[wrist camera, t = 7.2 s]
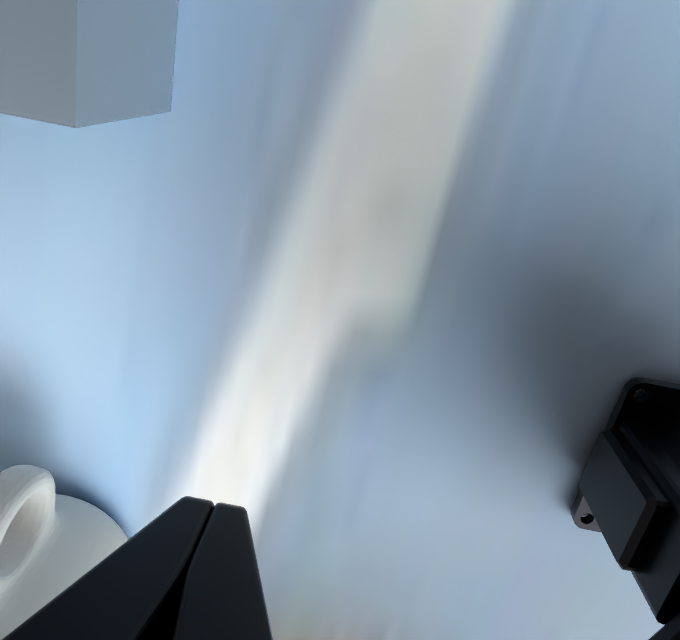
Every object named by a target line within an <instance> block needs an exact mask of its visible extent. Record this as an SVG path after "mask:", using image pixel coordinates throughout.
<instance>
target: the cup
mask: <svg viewBox="0 0 680 640" xmlns="http://www.w3.org/2000/svg"><path fill="white" fill-rule="evenodd" d="M127 540H128V538H127V536H126V535H125V533H124V532H123V530H122V529H121V528H120V526H119V525H118V524H117V523H116V522H115V521H114V520H113V519H112V518H111V517H110V516H108V515H107V514H106V513H105V512H103V511H102V510H100V509H99V508H97V507H96V506H94V505H91V504H89V503H87V502H85V501H83V500H80V499H77V498H74V497H70V496H66V495H59V494H55V482H54V479H53V477H52V475H51V473H50V472H49V471H47V470H45V469H44V468H41V467H37V466H33V465H25V464H24V465H14V466H12V467H10V468H7V469H5V470H3V471H2V472H0V640H2V639H3V638H4V637H5V636H7V635H8V634H9V633H10V632H12V631H13V630H14V629H16V628H17V627H18V626H19V625H21V624H22V623H23V622H24V621H26V620H27V619H28V618H30V617H31V616H32V615H33V614H35V613H36V612H37V611H38V610H40V609H41V608H42V607H44V606H45V605H46V604H47V603H49V602H50V601H51V600H52V599H54V598H55V597H56V596H58V595H59V594H60V593H61V592H63V591H64V590H65V589H66V588H68V587H69V586H70V585H72V584H73V583H74V582H75V581H77V580H78V579H79V578H80V577H82V576H83V575H84V574H86V573H87V572H88V571H89V570H91V569H92V568H93V567H94V566H96V565H97V564H98V563H100V562H101V561H102V560H103V559H105V558H106V557H107V556H108V555H110V554H111V553H112V552H113V551H115V550H116V549H117V548H119V547H120V546H121V545H122V544H124V543H125V542H126V541H127Z"/></svg>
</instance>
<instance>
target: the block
mask: <svg viewBox="0 0 680 640" xmlns="http://www.w3.org/2000/svg"><path fill="white" fill-rule="evenodd" d="M178 2H179V0H0V113H3V114H8V115H13V116H18V117H23V118H28V119H33V120H38V121H43V122H48V123H53V124H58V125H64V126H69V127H74V128H78V127H84V126H89V125H95V124H101V123H107V122H112V121H118V120H124V119H130V118H135V117H141V116H147V115H153V114H158V113H164V112H170V111H171V99H172V85H173V72H174V58H175V44H176V30H177V16H178Z"/></svg>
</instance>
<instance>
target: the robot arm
mask: <svg viewBox="0 0 680 640" xmlns="http://www.w3.org/2000/svg"><path fill="white" fill-rule="evenodd" d="M640 389H644V392H643V393H642V394H641V395H639V396H634V394H635V393H636V391H638V390H640ZM578 486H579V488H580V490H579V493H578V495H577V497H576V500H575V502H574V504H573V507H572V509H571V516H572V518H573V520H574V523H575V524H576V525H577V526H578V527H579V528H582V529H586V530H592V531H597V532H602V534H603V536H604V538H605V540H606V542H607V544H608V546H609V548H610V550H611V552H612V554H613V556H614V558H615V559H616V561H617V563H618V564H619V566H620V567H621V568H622V569H623V570H628V571H631V572H632V574H633V576H634V578H635V580H636V582H637V583H638V585H639V587H640V589H641V591H642V593H643V595H644V597H645V599H646V601H647V603H648V604H649V606H650V608H651V610H652V612H653V614H654V616H655V618H656V620H657V621H658V622H659V623H661V624H664V626H663V627H662V628H661V629H660V630H659V631H658V632H657V633H655V634H654V635H653V636H652V637H651V638H650V639H649V640H680V385H678V384H673V383H667V382H662V381H657V380H652V379H647V378H633V379H631V380H629V381H628V382H627V383H626V384H625V385H624V387H623V389H622V391H621V393H620V396H619V398H618V400H617V403H616V405H615V408H614V410H613V412H612V415H611V417H610V419H609V422H608V424H607V426H606V428H605V429H604V430H602V431H601V432H600V434H599V436H598V439H597V441H596V443H595V446H594V448H593V450H592V453H591V455H590V458H589V460H588V462H587V465H586V467H585V469H584V472H583V474H582V477H581V479H580V481H579V485H578ZM587 513H590V514H589V515H588V516H586V517H582V515H584V514H587ZM2 640H273V638H272V633H271V628H270V623H269V618H268V614H267V609H266V604H265V599H264V594H263V589H262V584H261V579H260V574H259V569H258V564H257V559H256V554H255V549H254V544H253V539H252V534H251V529H250V524H249V520H248V515H247V511H246V509H245V508H244V507H241V506H236V505H231V504H226V503H217V504H216V505H215V506H214V504H213V502H212V501H210V500H205V499H200V498H195V497H190V496H186V497H183V498H181V499H180V500H178V501H177V502H176V503H175V504H173V505H172V506H171V507H169V508H168V509H167V510H166V511H164V512H163V513H162V514H161V515H159V516H158V517H157V518H155V519H154V520H153V521H152V522H150V523H149V524H148V525H147V526H145V527H144V528H143V529H141V530H140V531H139V532H138V533H136V534H135V535H134V536H133V537H131V538H130V539H129V540H127V541H126V542H125V543H124V544H122V545H121V546H120V547H119V548H117V549H116V550H115V551H113V552H112V553H111V554H110V555H108V556H107V557H106V558H105V559H103V560H102V561H101V562H100V563H98V564H97V565H96V566H94V567H93V568H92V569H91V570H89V571H88V572H87V573H86V574H84V575H83V576H82V577H80V578H79V579H78V580H77V581H75V582H74V583H73V584H72V585H70V586H69V587H68V588H66V589H65V590H64V591H63V592H61V593H60V594H59V595H58V596H56V597H55V598H54V599H52V600H51V601H50V602H49V603H47V604H46V605H45V606H44V607H42V608H41V609H40V610H38V611H37V612H36V613H35V614H33V615H32V616H31V617H30V618H28V619H27V620H26V621H24V622H23V623H22V624H21V625H19V626H18V627H17V628H16V629H14V630H13V631H12V632H10V633H9V634H8V635H7V636H5V637H4V638H3V639H2Z"/></svg>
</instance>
